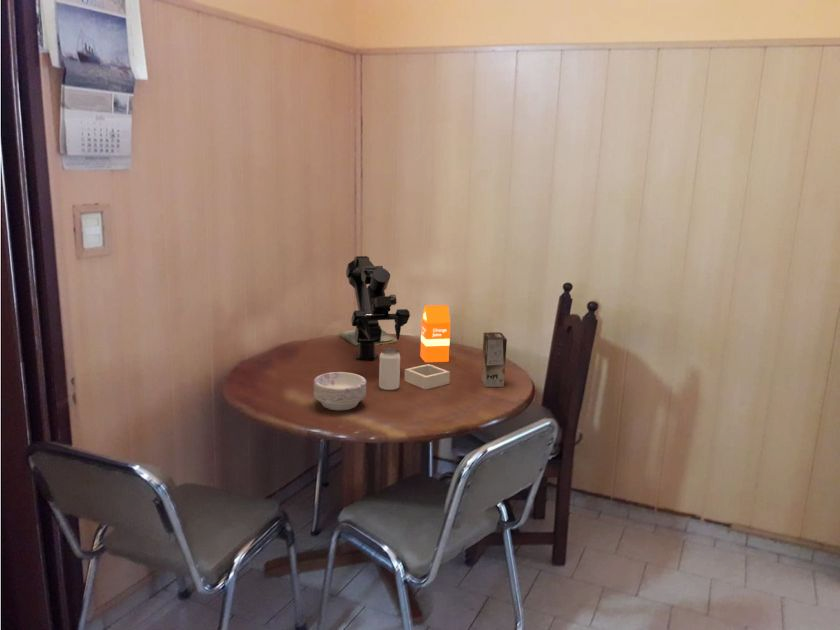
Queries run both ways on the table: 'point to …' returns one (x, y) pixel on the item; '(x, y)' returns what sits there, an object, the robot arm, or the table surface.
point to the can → (389, 369)
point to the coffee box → (493, 359)
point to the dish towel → (384, 340)
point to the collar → (427, 376)
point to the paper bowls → (339, 390)
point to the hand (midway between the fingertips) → (384, 339)
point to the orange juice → (435, 334)
